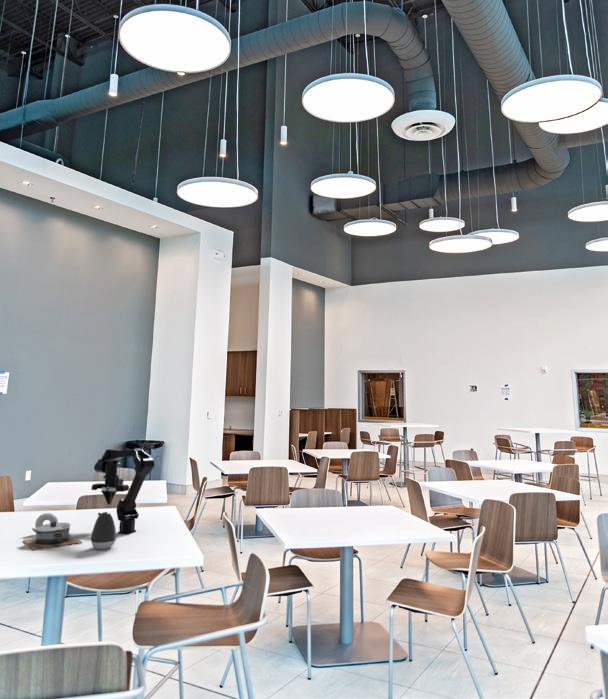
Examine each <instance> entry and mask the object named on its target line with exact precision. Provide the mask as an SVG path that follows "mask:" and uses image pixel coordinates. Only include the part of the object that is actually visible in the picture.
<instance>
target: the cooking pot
mask: <svg viewBox="0 0 608 699" xmlns="http://www.w3.org/2000/svg"><path fill="white" fill-rule="evenodd" d="M70 529H71V528H70V527H69V528H67V529H64V530H59V531H53V532H37V533H36V532H35V538H36V542H35V543H36V544H40V545H52V544H59V543H64V542H67V541H68V540H69V534H70Z"/></svg>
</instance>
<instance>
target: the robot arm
mask: <svg viewBox="0 0 608 699" xmlns="http://www.w3.org/2000/svg"><path fill="white" fill-rule="evenodd" d="M129 457H130V458H133V459H132V462H133V464H134V465H135V467H134V468H135V474H134V477H133V479H132V482H131V484H130V486H129V485H128V484H124V482H125V481H124V479H123V478H119V475H118V466H120V465H121V462H119V460H121V459H122V458H129ZM154 468H155V460H154V459H153V458H152V457H151V455H150V454H148V453H146V452H145V450H143V449H142V448H138V447H137V448H132V449H131V448H130V449H121V448H110V449H105V451H104V453H103V454H102V457H101V458H100V459H99V458H98V459H97V461H96V463H95V464H94V465H93V470H94V471H95V472H96V473H103V474H104V475H103V479H104V483H99V482H98V483H94V484H93V483H92V485H91V490H92V491H97V490H98V489H99V490H100V489H101V491H100V493H102V495H103V497H104V498H105V501H106V503H107V505H109V506H110V505H112V502H113V499H114V497H115V496H116V494H117V493H118V492H127V494H126V496H125V498H121V499H119V501H118V503H117V505H116V515H117V516H116V517H117V520H118V522H119V521H120V522H119V531H117V533H118V534H126V533H130V534H132V533H135V532H137V529H135V528H136V527H135V526H136V519H138V518H139V516H140V515H139V513H138V511H137V509H136V507H137V504H136V500H137V497H138V495H139V492H140V490H141V488H142V486H143V483H144V481H145V479H146V477H147V476H148V475H149V474H150V473H151V472H152V471H153V469H154Z"/></svg>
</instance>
